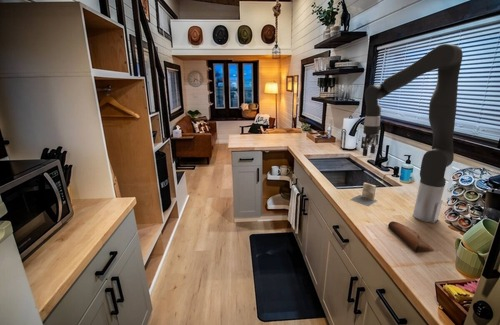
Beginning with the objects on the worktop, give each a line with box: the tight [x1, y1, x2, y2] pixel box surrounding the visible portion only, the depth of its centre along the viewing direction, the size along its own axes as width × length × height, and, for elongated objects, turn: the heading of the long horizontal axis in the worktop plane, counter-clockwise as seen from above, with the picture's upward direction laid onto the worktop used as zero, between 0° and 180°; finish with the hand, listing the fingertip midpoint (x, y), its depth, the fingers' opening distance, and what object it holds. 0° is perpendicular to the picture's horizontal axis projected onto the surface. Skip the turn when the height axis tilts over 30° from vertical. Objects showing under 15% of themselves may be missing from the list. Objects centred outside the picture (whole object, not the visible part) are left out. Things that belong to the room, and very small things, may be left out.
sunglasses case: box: [387, 220, 435, 254], centre depth 104 cm, size 18×7×7 cm, turn 4°
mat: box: [350, 194, 378, 207], centre depth 137 cm, size 10×10×1 cm
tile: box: [361, 182, 377, 200], centre depth 138 cm, size 6×2×8 cm, turn 39°
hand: (368, 154), depth 139 cm, fingers open, 8 cm apart
